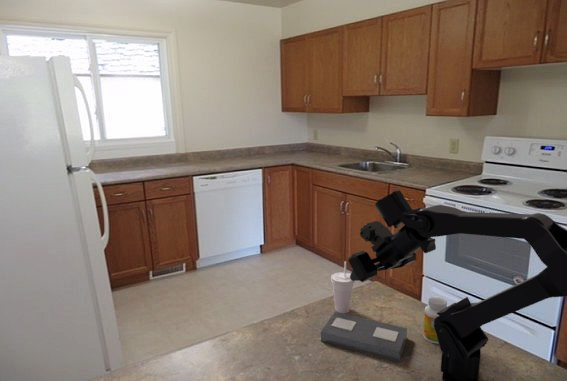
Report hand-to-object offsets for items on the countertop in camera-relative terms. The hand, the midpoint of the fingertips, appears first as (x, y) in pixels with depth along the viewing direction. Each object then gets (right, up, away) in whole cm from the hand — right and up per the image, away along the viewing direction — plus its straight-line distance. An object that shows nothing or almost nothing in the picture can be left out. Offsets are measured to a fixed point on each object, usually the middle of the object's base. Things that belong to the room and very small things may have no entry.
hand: (364, 273), depth 94 cm
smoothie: (-4, -12, +8) cm, 15 cm away
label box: (-1, -14, -5) cm, 15 cm away
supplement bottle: (+16, -14, -5) cm, 22 cm away
